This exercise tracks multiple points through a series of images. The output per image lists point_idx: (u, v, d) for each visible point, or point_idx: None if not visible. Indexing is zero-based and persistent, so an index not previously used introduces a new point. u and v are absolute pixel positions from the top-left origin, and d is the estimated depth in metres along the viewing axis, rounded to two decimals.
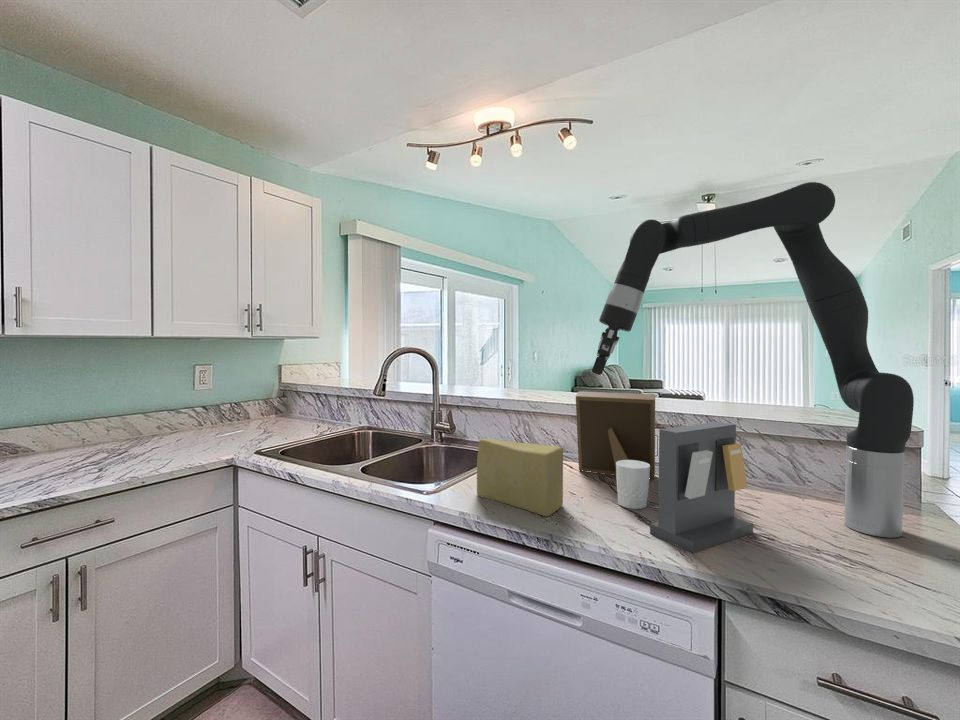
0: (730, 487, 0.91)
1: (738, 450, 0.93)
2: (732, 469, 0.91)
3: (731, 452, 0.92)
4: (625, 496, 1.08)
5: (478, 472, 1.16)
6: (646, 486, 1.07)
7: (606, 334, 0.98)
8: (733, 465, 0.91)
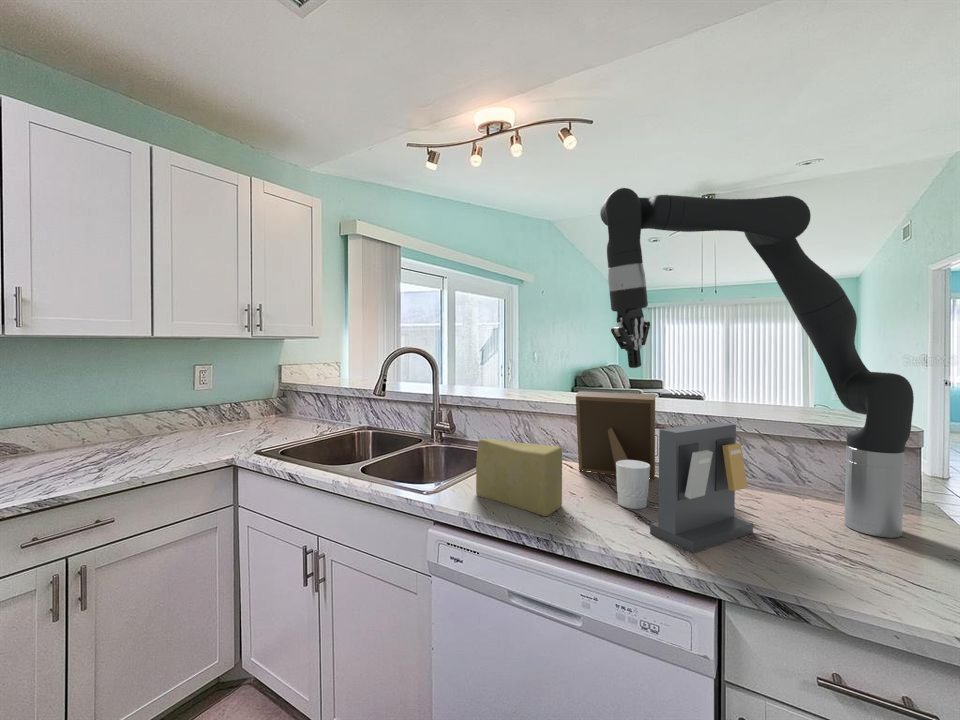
0: (730, 487, 0.91)
1: (738, 450, 0.93)
2: (732, 469, 0.91)
3: (731, 452, 0.92)
4: (625, 496, 1.08)
5: (477, 472, 1.16)
6: (646, 486, 1.07)
7: (615, 335, 0.94)
8: (733, 465, 0.91)
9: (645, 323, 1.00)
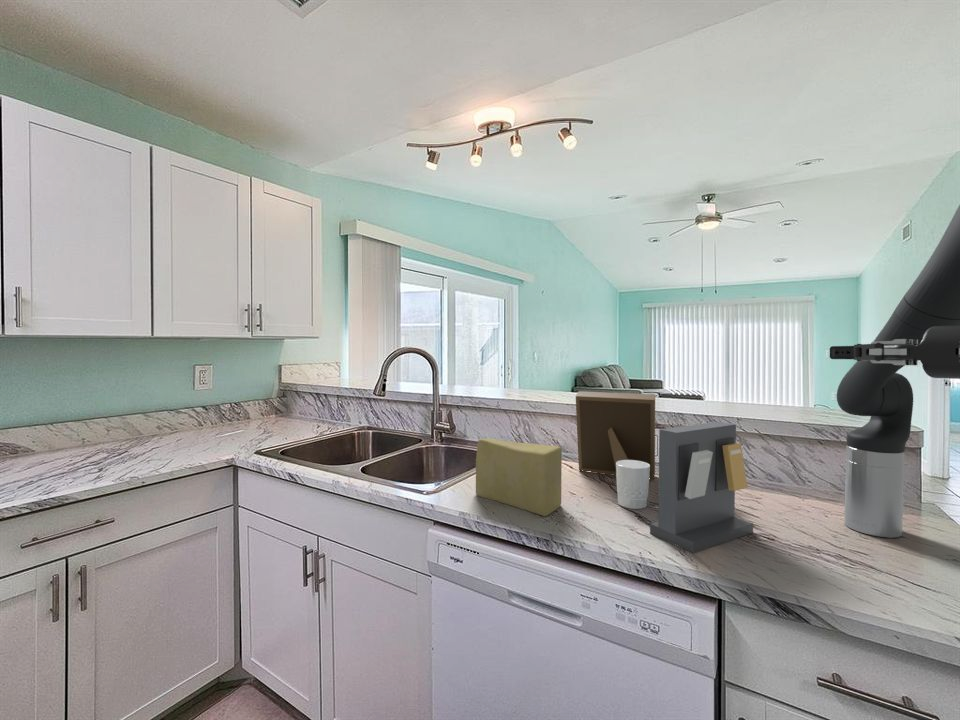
0: (730, 487, 0.91)
1: (738, 450, 0.93)
2: (732, 469, 0.91)
3: (731, 452, 0.92)
4: (625, 496, 1.08)
5: (477, 472, 1.16)
6: (646, 486, 1.07)
7: None
8: (733, 465, 0.91)
9: None
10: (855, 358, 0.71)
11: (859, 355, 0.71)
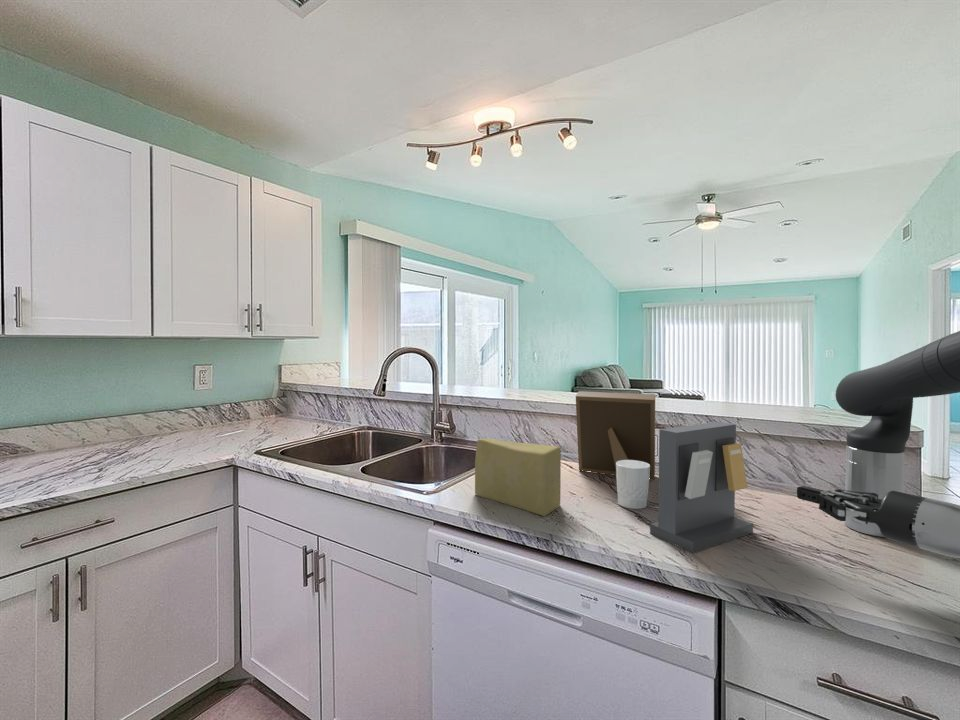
0: (730, 487, 0.91)
1: (738, 450, 0.93)
2: (732, 469, 0.91)
3: (731, 452, 0.92)
4: (625, 496, 1.08)
5: (476, 472, 1.16)
6: (646, 486, 1.07)
7: None
8: (733, 465, 0.91)
9: None
10: (820, 508, 0.76)
11: (824, 506, 0.76)
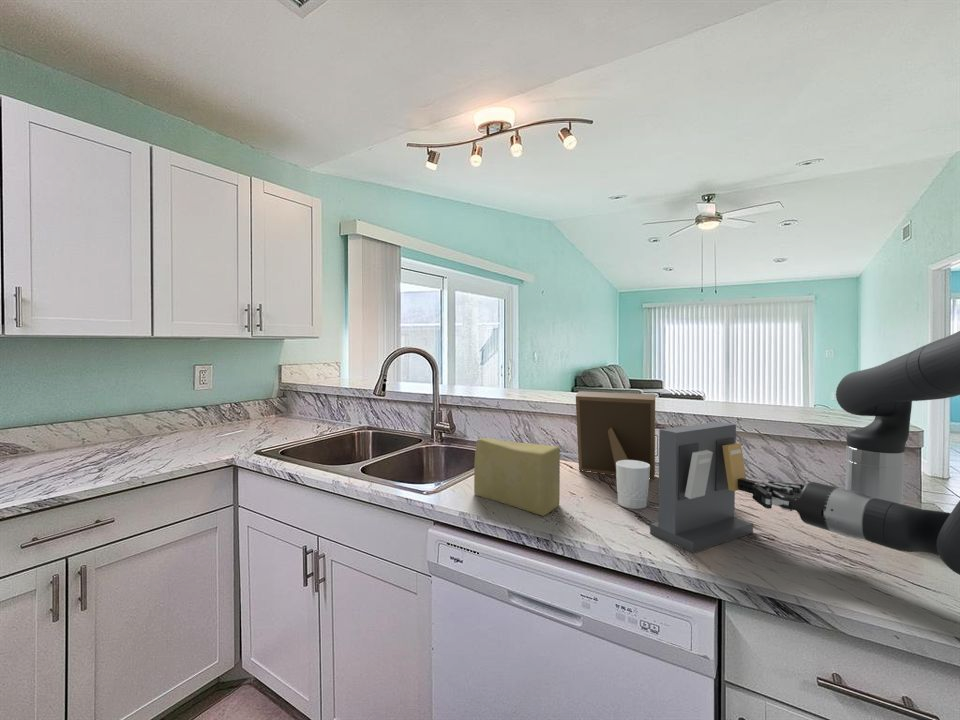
0: (730, 487, 0.91)
1: (738, 450, 0.93)
2: (732, 469, 0.91)
3: (731, 452, 0.92)
4: (625, 496, 1.08)
5: (475, 471, 1.16)
6: (646, 486, 1.07)
7: None
8: (733, 465, 0.91)
9: None
10: (753, 497, 0.86)
11: (756, 495, 0.85)
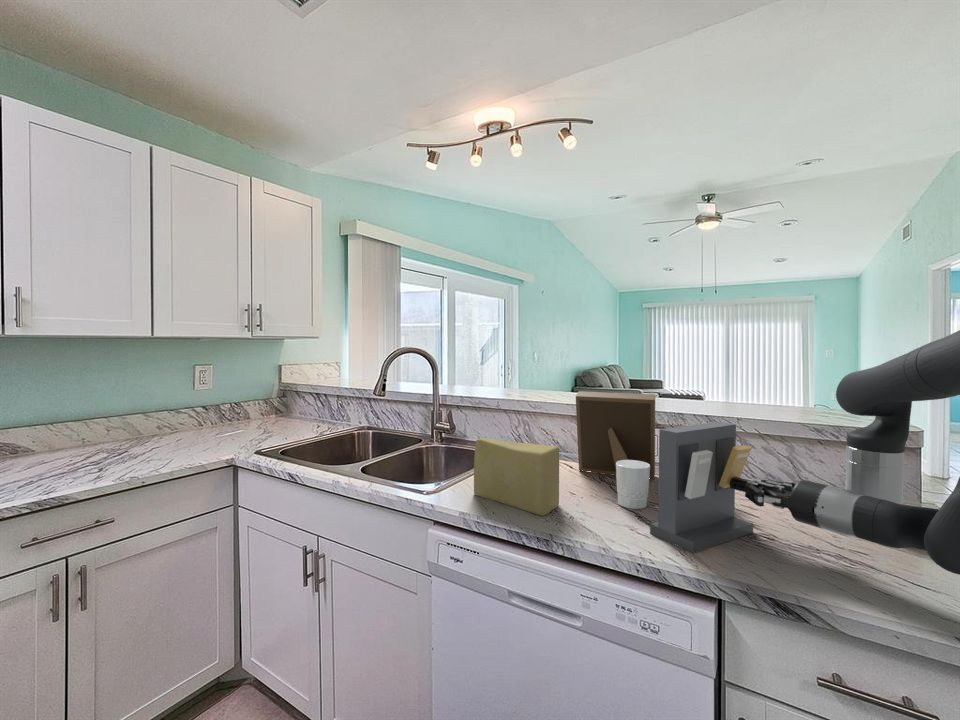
0: (721, 483, 0.93)
1: (745, 454, 0.91)
2: (731, 470, 0.91)
3: (738, 456, 0.90)
4: (625, 496, 1.08)
5: (475, 471, 1.17)
6: (646, 486, 1.07)
7: None
8: (734, 467, 0.91)
9: None
10: (746, 496, 0.87)
11: (748, 494, 0.87)
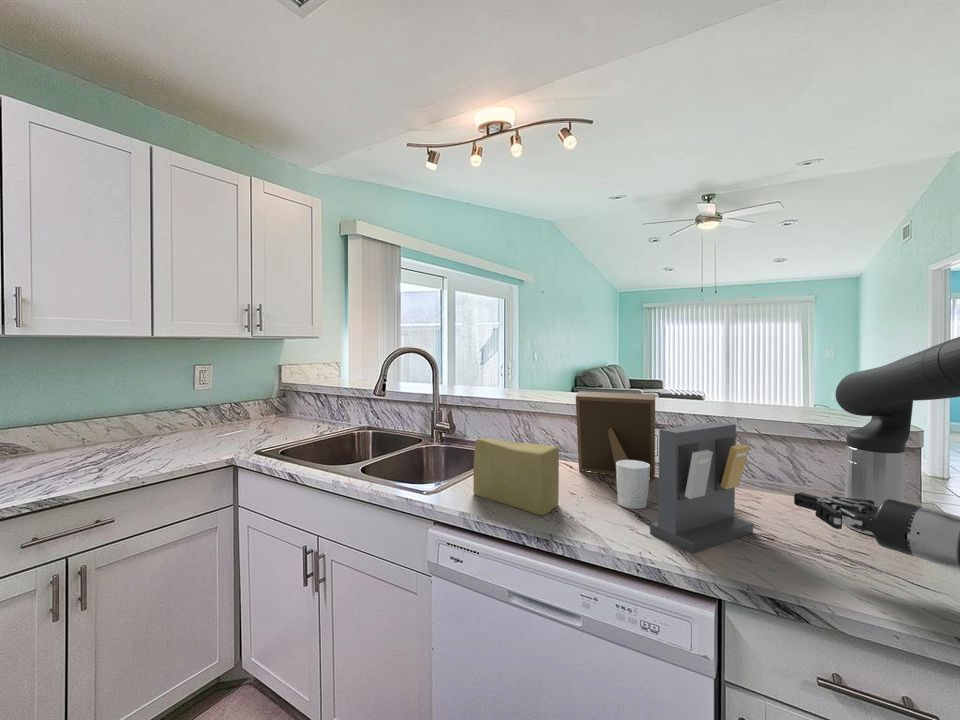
0: (723, 484, 0.92)
1: (744, 453, 0.91)
2: (731, 470, 0.91)
3: (737, 455, 0.90)
4: (625, 496, 1.08)
5: (475, 471, 1.17)
6: (646, 486, 1.07)
7: None
8: (734, 466, 0.91)
9: None
10: (817, 515, 0.76)
11: (820, 513, 0.76)
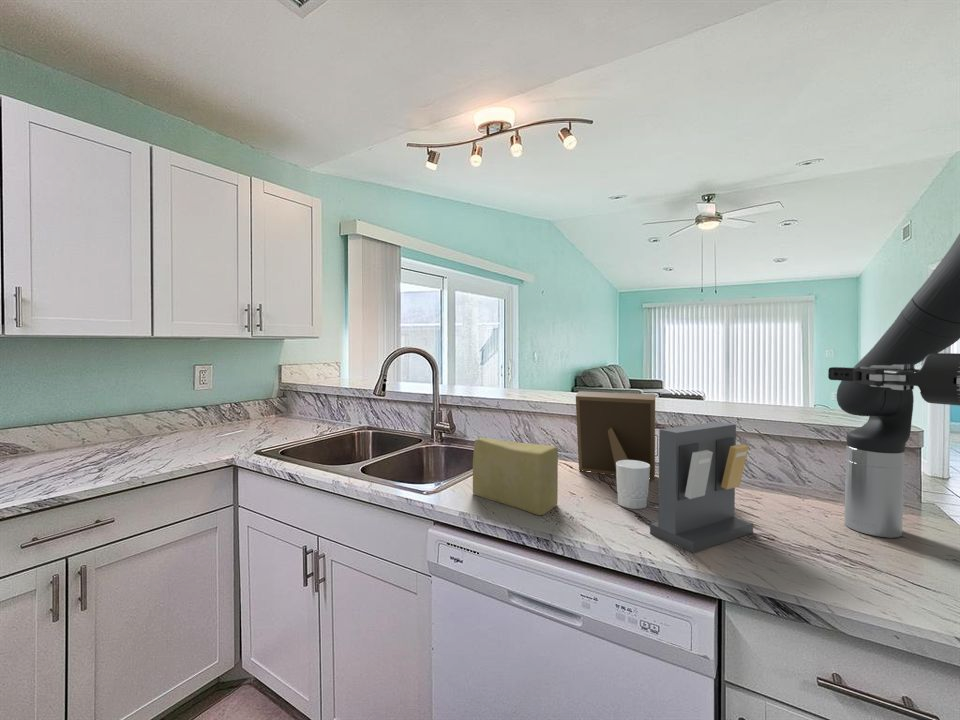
0: (723, 485, 0.92)
1: (743, 453, 0.91)
2: (731, 470, 0.91)
3: (737, 454, 0.91)
4: (625, 496, 1.08)
5: (474, 471, 1.17)
6: (646, 486, 1.07)
7: None
8: (734, 466, 0.91)
9: None
10: (854, 381, 0.73)
11: (858, 378, 0.73)
